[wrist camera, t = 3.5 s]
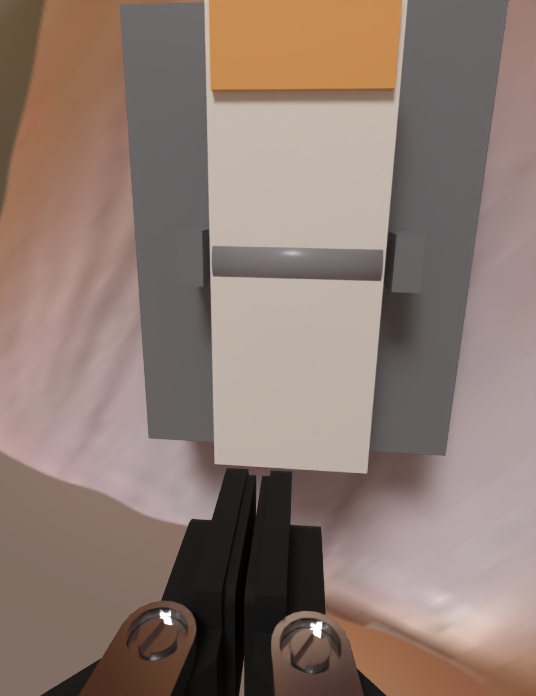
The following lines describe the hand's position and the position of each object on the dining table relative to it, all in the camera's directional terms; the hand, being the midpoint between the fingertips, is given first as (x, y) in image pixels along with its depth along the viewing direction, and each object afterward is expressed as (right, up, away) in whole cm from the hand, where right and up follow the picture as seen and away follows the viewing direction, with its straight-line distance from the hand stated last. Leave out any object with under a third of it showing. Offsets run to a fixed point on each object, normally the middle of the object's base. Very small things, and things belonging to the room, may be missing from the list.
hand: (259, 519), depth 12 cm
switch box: (+2, +10, +13) cm, 17 cm away
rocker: (+1, +7, +5) cm, 9 cm away
